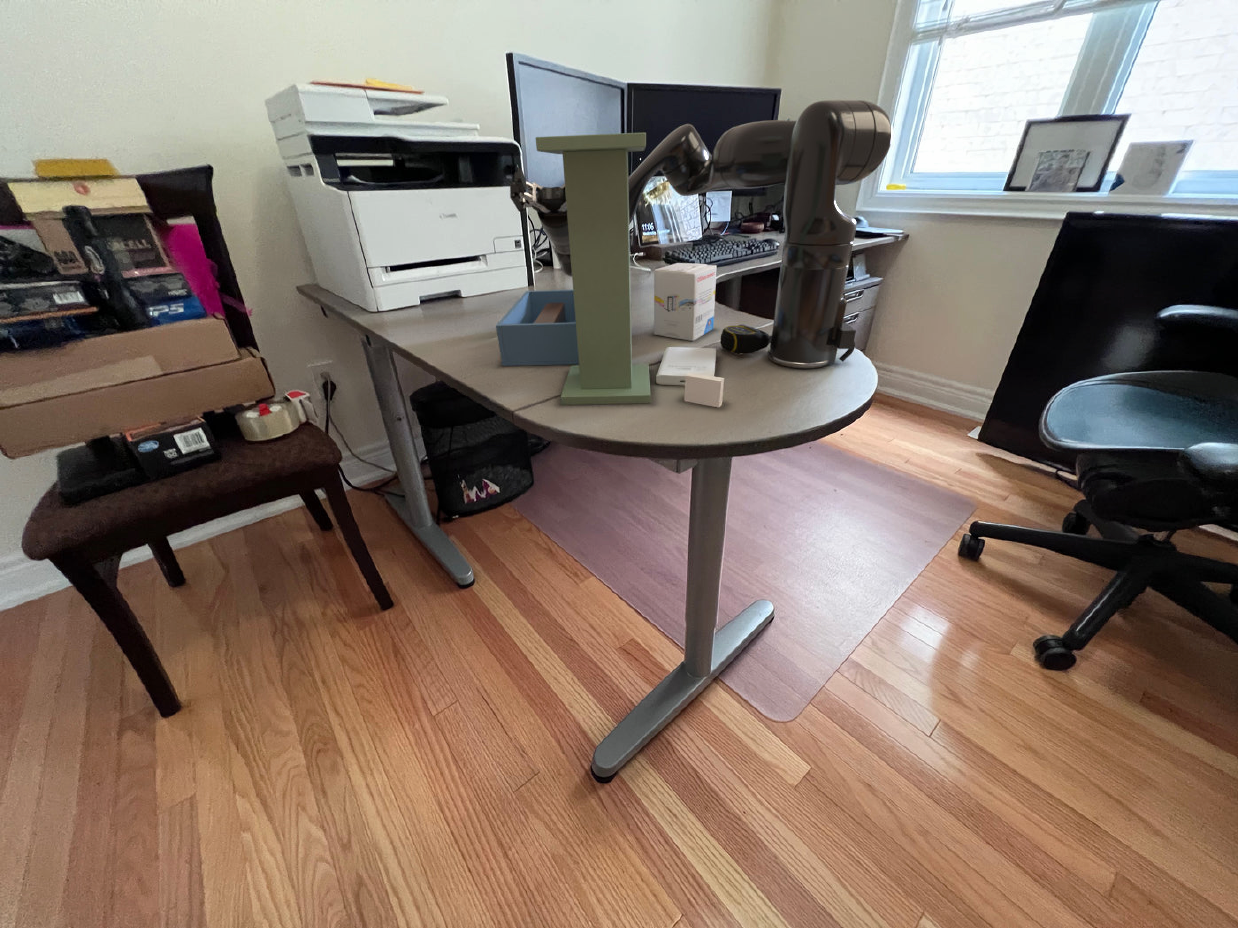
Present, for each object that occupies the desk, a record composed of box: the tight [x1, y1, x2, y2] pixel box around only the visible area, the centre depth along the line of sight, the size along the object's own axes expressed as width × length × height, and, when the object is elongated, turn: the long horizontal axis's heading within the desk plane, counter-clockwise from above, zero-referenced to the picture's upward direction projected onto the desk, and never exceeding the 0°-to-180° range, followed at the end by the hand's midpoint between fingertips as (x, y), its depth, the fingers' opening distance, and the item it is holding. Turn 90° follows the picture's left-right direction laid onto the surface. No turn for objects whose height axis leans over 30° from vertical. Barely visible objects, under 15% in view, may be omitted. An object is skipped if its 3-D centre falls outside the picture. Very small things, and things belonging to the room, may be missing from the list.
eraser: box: [683, 373, 725, 409], centre depth 64 cm, size 1×5×4 cm, turn 61°
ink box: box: [653, 262, 717, 342], centre depth 89 cm, size 9×8×12 cm
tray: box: [495, 289, 579, 367], centre depth 88 cm, size 14×25×7 cm, turn 178°
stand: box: [535, 132, 651, 406], centre depth 63 cm, size 12×16×30 cm
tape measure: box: [719, 324, 770, 356], centre depth 81 cm, size 7×7×4 cm
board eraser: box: [534, 303, 566, 323], centre depth 89 cm, size 4×20×4 cm, turn 178°
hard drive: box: [655, 346, 717, 387], centre depth 75 cm, size 2×8×12 cm
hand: (544, 173), depth 82 cm, fingers open, 8 cm apart
